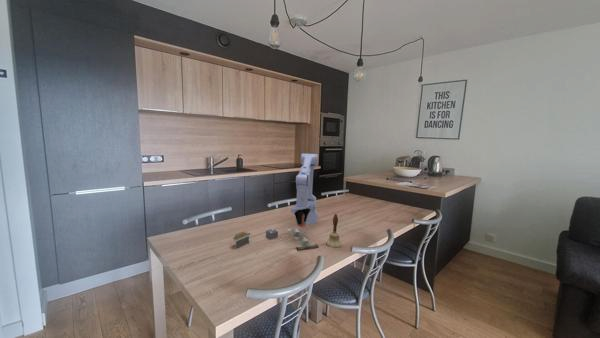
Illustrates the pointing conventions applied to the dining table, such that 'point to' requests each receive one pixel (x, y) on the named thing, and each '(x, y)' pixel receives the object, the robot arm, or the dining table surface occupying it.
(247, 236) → the potted plant
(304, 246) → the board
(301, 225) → the pawn
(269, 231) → the die
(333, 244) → the hand bell
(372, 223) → the dining table surface
